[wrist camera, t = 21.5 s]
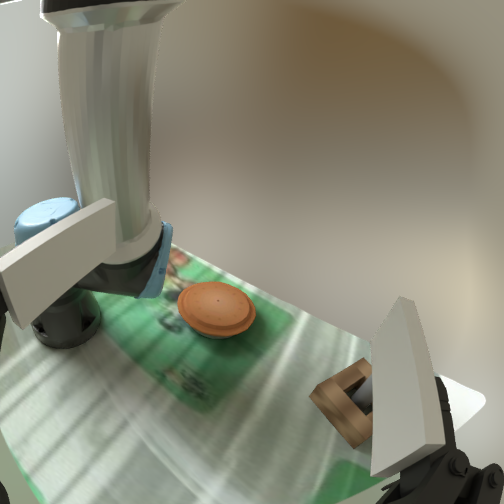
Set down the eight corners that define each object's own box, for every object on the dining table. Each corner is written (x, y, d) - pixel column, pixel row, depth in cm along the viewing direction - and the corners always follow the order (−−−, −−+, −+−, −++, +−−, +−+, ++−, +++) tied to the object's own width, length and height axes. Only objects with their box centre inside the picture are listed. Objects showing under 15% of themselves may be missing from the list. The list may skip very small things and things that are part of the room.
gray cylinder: (341, 404, 44) (388, 348, 36) (354, 394, 46) (400, 339, 38) (354, 418, 41) (406, 364, 33) (367, 408, 43) (416, 354, 35)
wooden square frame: (308, 396, 44) (317, 384, 42) (354, 369, 51) (363, 357, 49) (353, 448, 35) (366, 439, 34) (394, 412, 43) (406, 401, 41)
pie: (267, 328, 58) (273, 311, 55) (206, 360, 47) (210, 342, 45) (221, 286, 66) (224, 269, 64) (163, 307, 56) (163, 288, 53)
